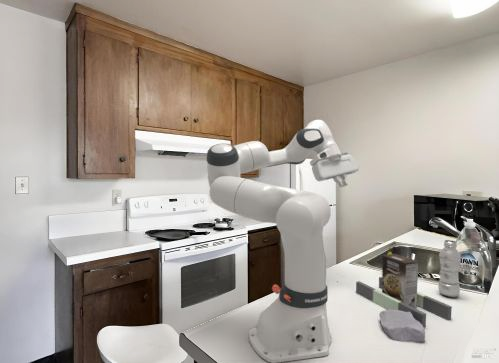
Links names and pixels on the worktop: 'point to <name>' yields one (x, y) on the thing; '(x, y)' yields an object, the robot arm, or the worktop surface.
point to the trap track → (394, 304)
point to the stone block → (402, 326)
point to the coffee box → (400, 278)
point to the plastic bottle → (449, 269)
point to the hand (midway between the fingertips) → (343, 186)
